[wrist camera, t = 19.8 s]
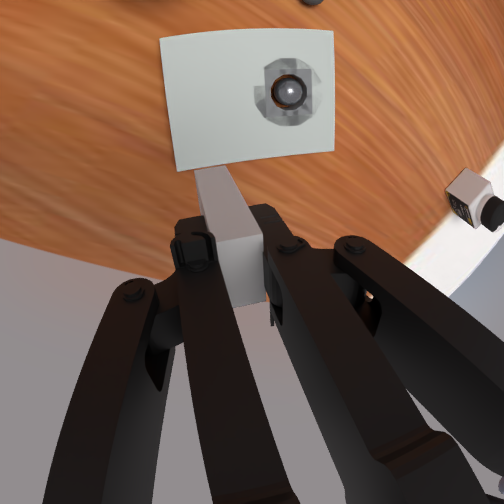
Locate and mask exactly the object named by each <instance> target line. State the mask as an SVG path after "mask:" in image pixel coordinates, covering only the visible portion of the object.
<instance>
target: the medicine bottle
mask: <svg viewBox="0 0 504 504" xmlns="http://www.w3.org/2000/svg"><path fill="white" fill-rule="evenodd" d="M445 192H446V195H447V197H448V200H449V202H450V205H451V207H452V210H453V212H454V213H455V214H456V215H458V216H459V217H460V218H462V219H463V220H464V221H466V222H467V223H468V224H469V225H471V226H472V227H473V228H475V229H477V228H478V227H479V226H480V224H482V225H484V226H485V227H486V228H487V229H489V230H490V231H491V232H497V231H499V230H500V229H501V228H502V227H503V225H504V201H503V200H501V199H500V198H498V197H497V196H495V195H494V194H493V189H492V185H491V182H490V181H488V180H486V179H485V178H483V177H481V176H480V175H478V174H476V173H475V172H473V171H471V170H469V169H468V168H465V169H464V170H463V171H462V172H461V173H460V174H459V175H458V176H457V178H456V179H455V180H454V181H453V182H452V183H451V184H450V185H449V186H448V187H447V188H446V189H445Z"/></svg>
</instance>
